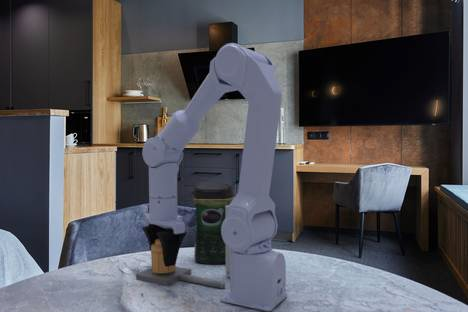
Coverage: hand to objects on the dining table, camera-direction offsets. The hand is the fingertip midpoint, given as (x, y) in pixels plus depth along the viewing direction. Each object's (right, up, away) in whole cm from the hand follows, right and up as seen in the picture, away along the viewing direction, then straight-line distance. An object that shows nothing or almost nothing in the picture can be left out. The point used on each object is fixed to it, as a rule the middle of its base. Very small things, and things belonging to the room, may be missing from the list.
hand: (164, 262), depth 82 cm
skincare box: (+17, -3, +1) cm, 18 cm away
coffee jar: (+10, -3, +12) cm, 16 cm away
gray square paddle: (+5, -3, -3) cm, 6 cm away
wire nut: (0, -2, 0) cm, 2 cm away
